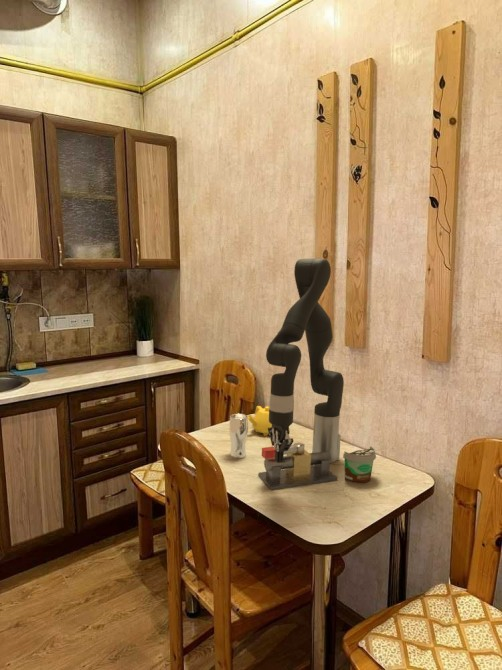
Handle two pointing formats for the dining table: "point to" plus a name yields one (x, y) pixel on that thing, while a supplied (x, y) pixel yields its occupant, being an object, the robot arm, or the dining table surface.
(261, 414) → the teapot
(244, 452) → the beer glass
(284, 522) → the dining table surface
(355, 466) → the food container
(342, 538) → the dining table surface
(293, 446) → the valve lever
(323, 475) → the valve pipe
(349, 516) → the dining table surface
